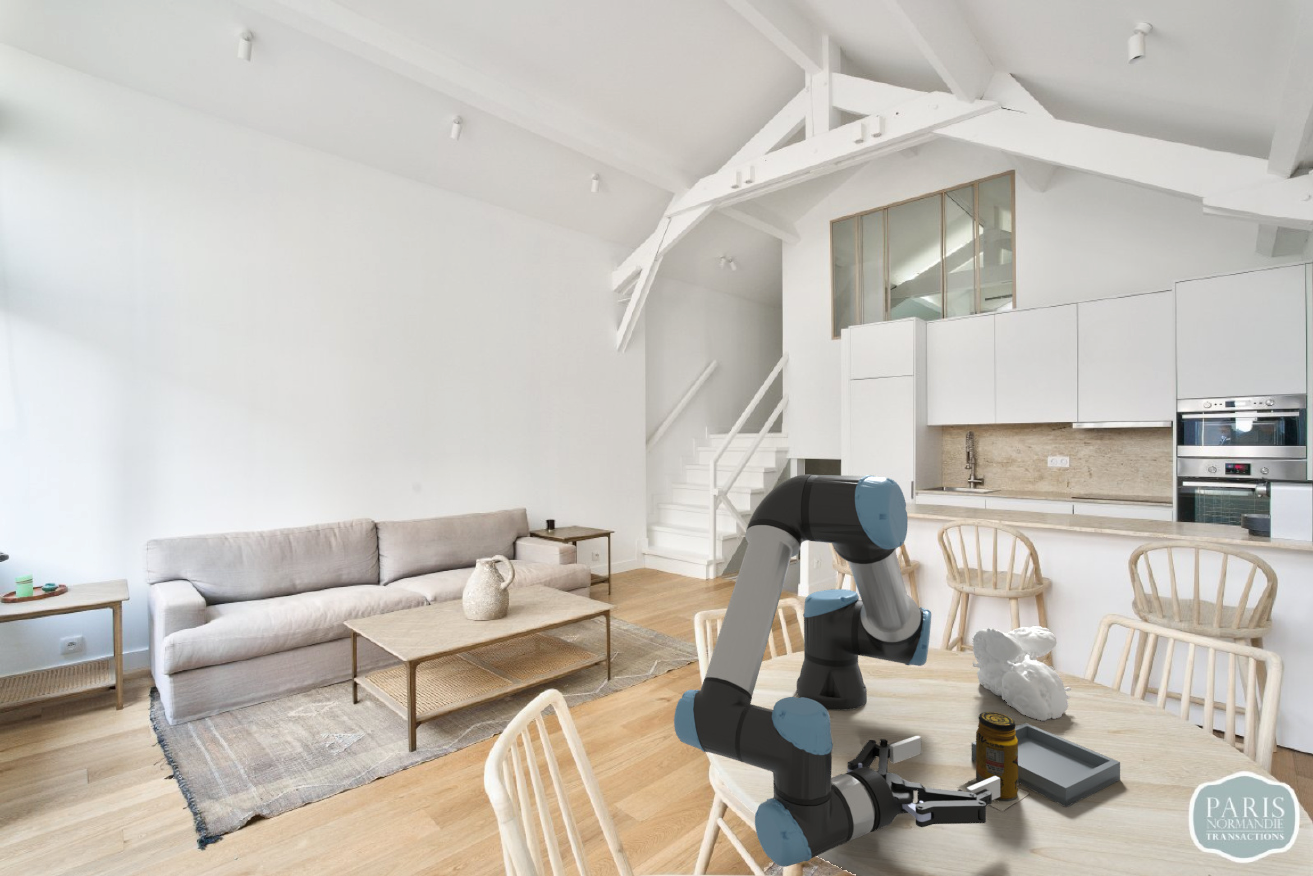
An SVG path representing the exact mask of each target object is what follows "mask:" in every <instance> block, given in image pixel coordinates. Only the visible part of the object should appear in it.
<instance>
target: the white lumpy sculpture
mask: <svg viewBox="0 0 1313 876" xmlns="http://www.w3.org/2000/svg"><path fill="white" fill-rule="evenodd" d="M1057 642H1058V641H1057V637H1056V636H1055V634H1054V633H1053V632H1051V630H1050V629H1049V628H1047V627H1042V626H1041V625H1040V626H1037V625H1034V626H1030V627H1028V626H1027V627H1026V626H1025V627H1018V628H1014V629H1013V630H1010V631H1009V632H1003V631H1001V630H999V629H995V628H989V627H988V628H985V629H980V630H977V631H976V632H975V634H974V635H973V637H972V651H973V656H974V657H975V659H976V662H977V663H976V662H975V661H974V660H973V661H972V667H975V668H978V670H977V672H976V674H977V679H978V683H979V684H980V685H981V686H983V688H984V689H986V690H988V691H990V692H991V693H993V695H996V696H999V697H1001V700H1003V701H1004V700H1005V701H1006V702H1007V703H1006V702H1005V701H1004V702H1005V703H1006V705H1007V706H1008V705H1009V706H1008V707H1010V706H1011V707H1010V708H1013V709H1015V710H1016V711H1017V712H1018V713H1020V714H1021V715H1022V716H1025V715H1026V716H1025V717H1029V718H1031V719H1034V720H1036V719H1037V721H1040V720H1041V721H1042V722H1043V721H1045V722H1046V721H1048V720H1051V719H1052V720H1057V719H1059V718H1061V717H1063V714H1064V713H1065V712H1067V710H1068V708H1069V703H1068V700H1069V699H1071V696H1070V695H1069V694H1067V692H1070V691H1071V690H1072V687H1070V686H1067V687H1065V685H1064V683H1063V680H1062V678H1061V677H1060V675H1059V674H1058V672H1056V670H1055V668H1054V667H1053V666H1052V665H1047V664H1046V663H1044V662H1042V661H1039V660H1037V658H1038V657H1044V656H1046V655H1048V654H1049V653H1050V652H1051V651H1052V650H1054V648H1056V646H1057ZM1056 718H1057V719H1056Z"/></svg>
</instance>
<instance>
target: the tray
mask: <svg viewBox="0 0 1313 876" xmlns="http://www.w3.org/2000/svg"><path fill="white" fill-rule="evenodd" d="M1015 731H1016V734H1015V736H1016V738H1017V740H1018V785H1021V786H1023V787H1025V788H1027V789H1030V790H1031V791H1032V792H1033V791H1034V792H1035V793H1036V794H1039V795H1041V796H1043V797H1045V798H1047V799H1049V800H1051V801H1053V802H1055V803H1056V804H1059V805H1061V806H1062V807H1064V808H1067V807H1069V806H1071V805H1073V804H1075V803H1077V802H1079V801H1081V800H1083V799H1085V798H1088V797H1089V796H1091V795H1092V794H1095V793H1097V792H1099V791H1101V790H1102V789H1104V788H1107V787H1109V786H1110V785H1113V784H1115V783H1117V782H1118V781H1121V761H1118V760H1116V759H1114V758H1111V757H1109V756H1106V755H1104V754H1103V753H1100V752H1097V751H1094V750H1092V749H1089V748H1087V747H1085V746H1082V745H1080V744H1078V743H1075V742H1072V741H1070V740H1068V739H1065V738H1063V737H1061V736H1059V735H1056V734H1054V733H1052V732H1049V731H1046V730H1044V729H1041V728H1039V727H1037V726H1034V725H1033V724H1032V725H1031V724H1029V723H1028V722H1024V723H1020V724H1018V725H1016V726H1015ZM971 760H972V761H974V762H976V740H974V741H972V742H971Z"/></svg>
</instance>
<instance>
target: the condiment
mask: <svg viewBox="0 0 1313 876" xmlns="http://www.w3.org/2000/svg"><path fill="white" fill-rule="evenodd" d="M1015 726H1017V725H1016V723H1015V720H1014V719H1013V718H1012V717H1009V716H1008V715H1006V714H1004V713H1000V712H997V711H996V712H995V711H985V712H981V713H980V714H979V715H978V725H977V727H978V728H977V730H976V732H975V741H976V761H975V778H973V779H971V780H968V781H967V782H966V783H963V784H961V785H959V786H958V787H956V788H957V789H958V790H959V791H963V792H967V787H969V786H972V785H974V784H977V783H979V782H981V781H984V780H986V779H988V778H991V777H993V776H997V777H999V778H1000V797H998V798H996V799H994V800H992V803H991V804H990V805H989V806H991V807H992V808H995V809H997V810H999V811H1000V812H1004V811H1005V810H1007V809H1009V807H1011V806H1013V805H1014V804H1016V803H1018V802H1019V801H1022V799H1024V798H1025V797H1027V796H1028V795H1030V792H1029V791H1025V790H1024V789H1021V788H1019V783H1018V740H1017V738H1016V736H1015V734H1016V731H1015Z"/></svg>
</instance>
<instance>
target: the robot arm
mask: <svg viewBox="0 0 1313 876" xmlns="http://www.w3.org/2000/svg"><path fill="white" fill-rule="evenodd" d="M906 507H907V503H906V500H905V495H904V493H903V491H902V488H901V487H900V485H899V484H898V483H897V481H895V480H894V479H892V478H889V477H884V476H883V477H881V476H876V475H871V474H870V475H834V474H832V475H831V474H827V475H826V474H825V475H824V474H823V475H822V474H812V473H811V474H807V473H806V474H799V475H795V476H792V477H791V478H788V479H786V480H783V481H782V482H781V483H779V484H778V485H777V486H775V487H774V488H773V489H772V490H770V492H769V493H767V494H766V496H765V497H764V498H763V499H762V500H761V501H760V502H759V504H758V506H757V507H756V508H755V510H754V511H753V514H752V515H751V517H750V519H749V521H748V524H747V527H746V529H745V532H744V533H745V534H744V538H745V540H746V541H747V546H746V549H745V552H744V555H743V559H742V563H741V565H740V568H739V571H738V573H737V577H736V580H735V584H734V587H733V589H732V590H733V591H732V592H731V595H730V599H729V602H728V605H727V608H726V612H725V613H724V614H725V615H724V617H723V621H722V624H721V627H720V630H719V633H718V636H717V639H716V643H715V646H714V649H713V652H712V654H711V657H710V661H709V663H708V666H707V670H706V673H705V677H704V679H703V682H702V685H701V687H700V690H699V689H688V690H686V691H684V693H682V696H681V698H679V699H678V701H677V704H676V707H675V711H674V716H673V717H674V718H673V727H674V731H675V735H676V736H677V738H678V739H679V741H680V742H682V743H683V744H686V745H688V746H691V747H693V748H697V749H698V750H701V751H702V753H710V754H714V755H717V756H721V757H725V758H728V759H731V760H735V761H738V762H740V763H744V764H747V765H750V766H754V767H756V768H759V769H763V770H766V771H770V772H772V775H773V776H772V777H773V785H772V786H773V797H771V798H767V799H766V801H763V802H761V803H760V804H759V805H758V807H757V810H756V812H755V813H754V814H755V815H754V827H755V832H756V835H757V840H758V841H759V844H760V846H761V848H762V850H763V852H764V853H765V855H766V856H767V858H769V859H770V860H771V861H772V863H775V864H776V865H777V866H779V867H783V868H785V867H786V868H787V867H790V866H794V865H797V864H800V863H803V862H809V861H811V859H813V858H815V857H817V856H820V855H821V854H824V853H826V852H828V851H830V850H832V849H834V848H837V847H839V846H842V845H844V844H846V843H849V842H851V841H854V840H856V839H858V838H860V837H862V836H865V835H867V834H869V833H872V832H876V831H878V830H880V829H883V828H885V827H888V826H889V825H891V824H893V821H894V820H895V819H896V817H897V816H898V815H901V814H910V815H911V816H913V818H915V825H916V826H917V827H919V828H926V827H929V826H932V825H955V824H956V825H958V824H959V825H961V824H962V825H963V824H964V825H965V824H969V825H970V824H972V825H973V824H986V823H987V806H991V805H990V804H991V803H992V800H994V799H996V798H998V797H1000V778H999V777H997V776H993V777H991V778H988V779H986V780H984V781H981V782H979V783H977V784H974V785H972V786H969V787H967V792H963V791H962V790H953V789H952V790H951V789H941V788H936V787H935V788H934V787H926V786H924V785H923V784H922V783H920V782H912V781H911V782H910V781H908V780H906V779H904V778H903V777H900V775H898V774H897V773H895V772H889V771H888V770H889V769H888V766H889V762H890V763H891V764H896V763H899V762H903V761H905V760H907V759H910V758H912V757H916V756H918V755H921V754H922V737H921V736H919V735H915V736H912V737H909V738H905V739H903V740H900V741H894V742H892V743H891V742H890V743H889V742H888V741H889V740H887V739H885V738H880V739H879V743H878V744H877V741H876V740H875V739H868V741H867V742H866V743H865V744H864V746H863V748H862V749H861V750H860V752H859V753H858V754H857V755H856V757H855V758H853V759H851V760H849V761H847V772H845V773H841V774H838V775H835V776H833V777H832V767H833V766H832V762H833V761H832V759H833V758H832V757H833V756H832V753H833V751H832V750H833V745H834V743H833V739H832V731H831V729H832V728H831V717H830V713H829V711H828V710H830V711H831V710H833V711H850V710H856V709H858V708H861V707H863V706H865V704H866V703H867V702H868V701H867V700H868V699H867V697H868V696H867V695H868V693H867V691H868V690H867V686H866V684H865V683H864V679H863V675H862V671H861V668H860V666H859V665H860V664H859V656H860V657H861V656H862V657H866V658H872V659H877V660H882V661H888V662H894V663H898V664H903V665H906V666H918V667H922V666H925V665H926V663H927V660H928V654H929V646H930V645H929V644H930V638H931V635H930V634H931V625H932V612H931V610H929V609H928V608H924V607H919V605H918V604H917V602H916V601H915V600H914V599H913V598H912V597H911V596H910V595H908V593H907V590H906V585H905V581H904V577H903V574H902V571H901V567H900V564H899V559H898V555H897V552H896V550H897V549H898V548H900V547H902V546H903V545H904V543H905V541H906V538H907V533H908V520H909V519H908V512H907V508H906ZM806 541H809V542H816V543H817V542H818V543H826V544H832V547H833V550H834V551H835V552H836V554H837V555H838V556H839V557H840V558H841V559H843V561H844V560H845V561H846V562H847V563H848V566H849V568H850V571H851V573H852V577H853V580H854V582H855V585H856V588H857V591H858V592H856V590H851V589H844V588H843V589H842V588H841V589H840V588H838V589H836V588H835V589H824V590H819V591H815V592H812V593H810V594H809V595H807V596H806V597H805V599H804V606H803V607H804V608H803V610H804V611H803V614H802V617H803V645H804V646H803V649H804V655H803V656H804V657H803V658H804V659H803V662H802V665H801V669H800V672H799V676H798V677H797V681H796V695H797V694H798V695H797V696H799V697H800V698H799V697H795V696H787V697H783V698H781V699H779V700H777V701H776V702H775V704H774V705H773V709H771V708H767V707H762V706H760V705H755V704H752V703H751V702H752V699H753V695H754V691H755V687H756V684H757V681H758V676H759V674H760V673H759V672H760V670H761V666H762V662H763V659H764V655H765V652H766V648H767V645H768V641H769V637H770V634H771V630H772V627H773V623H774V620H775V616H776V614H777V609H778V605H779V603H780V602H779V601H780V598H781V596H782V591H783V588H784V586H785V585H784V584H785V580H786V579H787V574H788V570H789V566H790V563H791V560H792V558H794V557H795V556H797V555H798V554H799V552H800V549H801V546H802V543H803V542H806ZM858 594H859V595H858ZM859 596H860V597H859ZM859 598H860V599H859ZM877 757H878V762H877V770H876V769H874V768H872V767H871V765H872V764H873V763H874V762H875V760H876V758H877ZM914 791H915V792H917V802H914V798H915V797H914V796H915V795H914V793H915V792H914Z"/></svg>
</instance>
